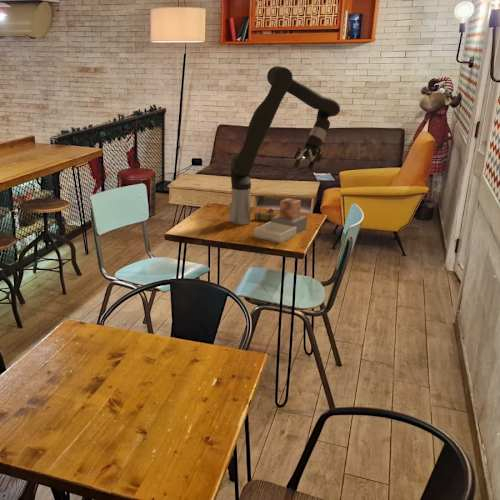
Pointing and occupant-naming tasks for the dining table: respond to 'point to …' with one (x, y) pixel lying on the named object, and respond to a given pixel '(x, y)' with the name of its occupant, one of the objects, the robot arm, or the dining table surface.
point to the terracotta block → (290, 208)
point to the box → (275, 232)
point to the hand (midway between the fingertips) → (302, 168)
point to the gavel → (265, 215)
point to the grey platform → (292, 222)
